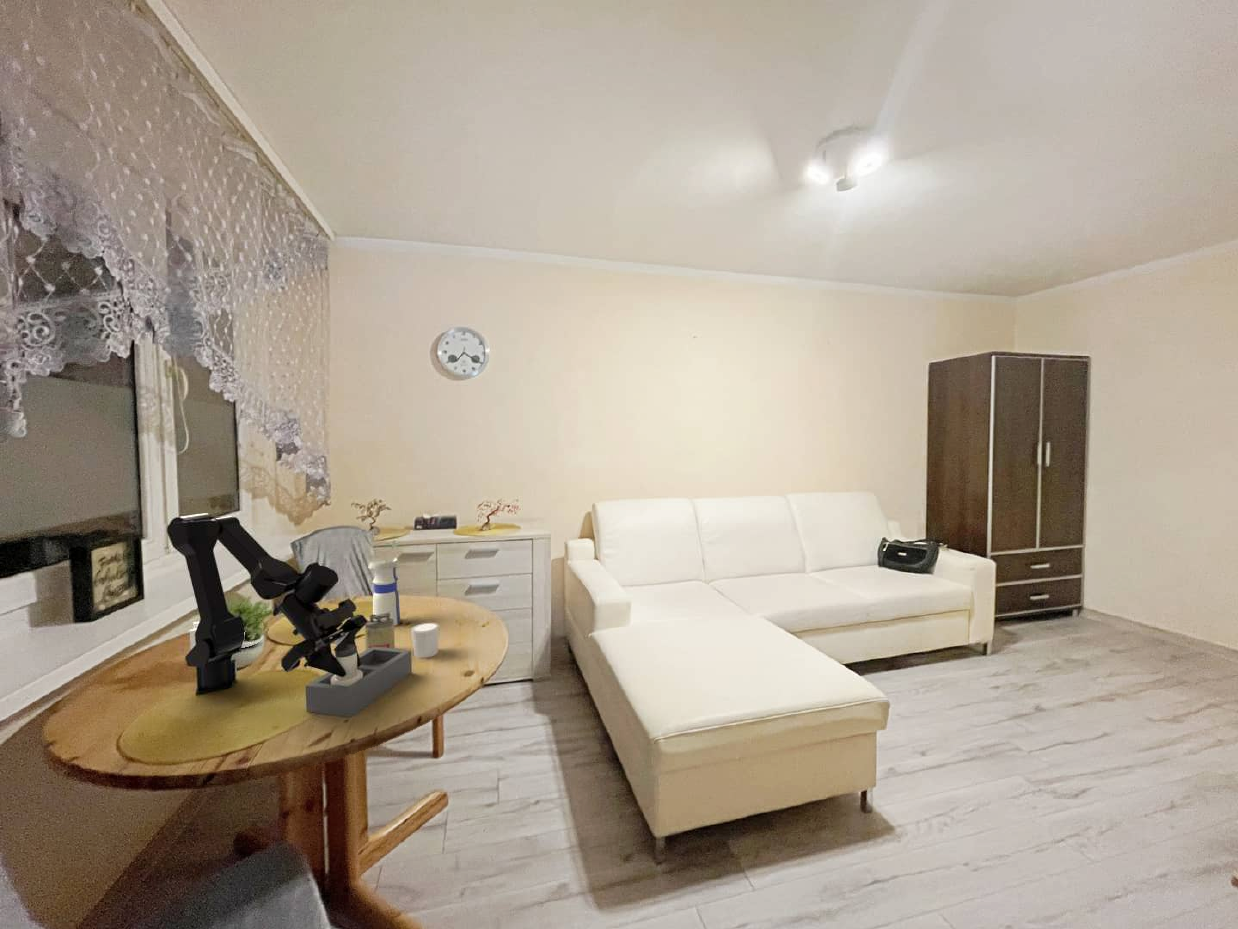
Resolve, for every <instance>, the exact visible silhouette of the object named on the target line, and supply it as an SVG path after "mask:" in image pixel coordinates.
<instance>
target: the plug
mask: <svg viewBox="0 0 1238 929" xmlns="http://www.w3.org/2000/svg"><path fill="white" fill-rule="evenodd" d="M335 648H336V647H335ZM335 648H334V649H335ZM357 651H358V646H357V644H356V645H344V646H340V647H338V648H336V649H335V651H334V656H335V658H336V659H337V660H338V662H339V663H340V664H341V665H342V667H343V668H344V670H345V672H346V675H345V676H344V677H340V676H337V675H334V676H333V677H332V678H331V684H332V685H340V686H348V687H349V686H351V685H352V684H354V683H355V682H357V681H358V680H360V679H361V678H363V672H362V671H361V670H357Z"/></svg>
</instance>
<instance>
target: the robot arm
mask: <svg viewBox="0 0 1238 929" xmlns="http://www.w3.org/2000/svg"><path fill="white" fill-rule="evenodd" d="M166 533H167V535H168V538H169V540H170V543H171V545H172V547H173V548H174V549H175V550H176V551H177V552H178V553H179V554H181V555H182V556H184V558H185V562H186V565H187V570H188V573H189V574H188V575H189V578H190V581H191V586H192V590H193V594H194V595H193V596H194V598H195V602H196V606H197V610H198V615H199V619H200V620H199V621H198V622H199V624H198V627H197V629H196V632H195V642H196V645H195V646H194V647H193V648H192V650H191V649H190V651H189V652H188V653H187V654H185V657H184V658H185V662H186V666H188V667H194V668H195V671H196V690H195V693H196V694H195V695H198V694H197V693H201V694H203V693H204V694H205V693H209V691H210V692H214V691H219V689H220V690H223V689H222V688H224V689H228V688H227V687H229V688H232V687H233V685H234V682H236V681H237V678H238V670H237V669H238V668H237V664H238V663H237V659H236V658H235V659H234V655H235V654H238V653H240V652H241V651H242V644H243V641H244V640H245V632H246V630H245V628H246V627H245V625H244V620H243V619H244V618H243V617H242V616H241V615H236V616H235V615H234V614H233V613H232V612H231V611H229V609H228V604H227V599H226V597H225V593H224V588H223V584H222V581H221V575H220V572H219V568H218V567H219V566H218V564H217V563H218V562H217V560H216V556H215V551H214V549H215V547H216V545H217V543H218V542H220V543H221V545H222V546H223V547H224V548H225V549H226V550H227V551H228V552H229V553H230V554H231V555H232V556H233V557H234V558H235V559H236V560H237V561H238V562H239V563H240V565H242V566H243V568H244V569H245V570H247V572H248V574H249V575H250V576H249V578H250V585H251V587H252V588H253V589H254V591H255V592H256V593H257V595H258V596H259V598H261V599H262V600H264V601H267V600H268V601H270V600H274V599H278V598H280V597H283V596H284V597H283V598H282V600H279V601H277V602H275V603H274V608H273V611H272V616H273V617H277V616H279V615H281V614H283V615H284V616H285V618H286V619H287V620H288V621H289V622H290V624H291V625H292V626H293V627H294V630H293V631H292V633H293V635H294V636H295V637H296V636H298V635H301V637H302V638H303V639H304V640H303V641H300V642H299V643H296V644H294V645H293V646H292V647H291V648H290V649H289V650H287V653H285V655H284V656H283V657H282V658H281V660H280V661H281V662H280V666H281V667H282V669H283V670H284V671H285V673H289V672H291V671H293V670H296V669H297V668H299V666H301V660H302V659H303V658H304V660H305V661H306V662H305V663H304V664H303V668H304V667H305V668H307V667H309V668H313V669H316V670H321V671H324V672H326V673H328V672H329V673H332V674H335V675H337V676H340V677H344V676H345V675H346V672H345V670H344V668H343V667H342V665H341V664H340V663H339V662H338V660H337V659H336V658H335V654H334V653H333V651H334V652H335V649H336V648H338V647H340V646H344V645H356V646H357V644H356V635H357V634H359V632H360V631H361V630H362V629H363V628H364V627H365V624H366V623H367V622H368V621H369V620H368V619H367V618H366V617H365V615H363V614H356V615H355V614H354V612H356V611H357V605H356V604H355V603H354V601H352V600H351V599H350V598H347V599H344V600H343V601H340V602H338V606H337V608H335V609H331V610H330V609H329V608H328V607H324V608H321V607H320V606H319V605H318V604H317V603H320V602H321V601H322V600H323V599H324V598H326V596H327V595H328V594H329V593H330V592H331V590H332V589H333V588H335V586H336V585H337V584H338V583H339V575H338V573H337V571H336V570H334V569H332V568H330V567H328V566H324V565H320V563H319V562H317V561H315V562H313V563H312V562H311V563H309V564H308V565H307V566H306V567H305V569H304V571H303V572H300V571H298V570H297V569H295V568H294V567H293V566H291V565H290V564H288V563H287V562H286V561H283V560H281V559H276V558H274V557H273V556H271V554H269V552H267V551H266V549H265V548H264V547H263V546H262V545H261V544H260V543H259V542H258V541H257V540H256V539H255V538H254V537H253V536H252V535H251V534H250V533H249V532H248V531H247V530H246V529H245V528H244V526H242V524H241V521H240V520H239V519H238V517H236V516H233V515H228V516H221V515H220V516H219V515H218V516H212V514H210V513H208V512H205V513H204V512H203V513H202V512H201V513H196V514H190V515H183V516H175V517H174V518H172V520H170V522H169V524H168V525H167V527H166ZM343 622H344V623H343ZM332 643H334V645H336V646H335V648H334V649H333V651H332V646H331V645H332ZM360 666H361V661H360V658H359V652H358V650H357V668H358V667H360Z"/></svg>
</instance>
